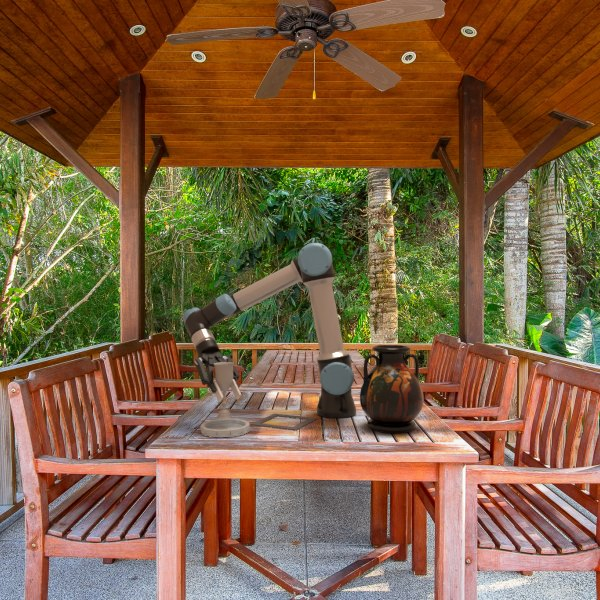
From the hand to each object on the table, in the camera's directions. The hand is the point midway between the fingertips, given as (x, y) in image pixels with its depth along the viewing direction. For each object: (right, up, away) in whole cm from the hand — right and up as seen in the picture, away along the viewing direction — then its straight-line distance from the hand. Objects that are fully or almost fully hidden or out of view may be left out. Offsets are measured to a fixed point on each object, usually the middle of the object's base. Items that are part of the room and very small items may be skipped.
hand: (230, 398), depth 169 cm
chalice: (-2, -7, +3) cm, 8 cm away
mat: (+18, -11, +16) cm, 26 cm away
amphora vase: (+54, -12, +7) cm, 56 cm away
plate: (-2, -12, +3) cm, 12 cm away
